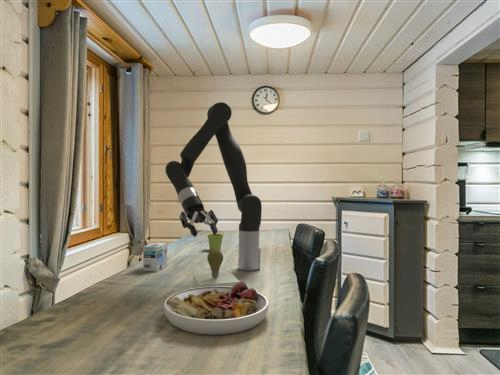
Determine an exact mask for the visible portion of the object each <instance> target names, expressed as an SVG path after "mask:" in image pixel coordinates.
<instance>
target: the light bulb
mask: <svg viewBox="0 0 500 375" xmlns="http://www.w3.org/2000/svg"><path fill="white" fill-rule="evenodd" d="M223 261H224V255H223V252H221V250H220V251H219V250H212V251H209V253H208V254H207V262H208V264H209V267H210V272H211V273H212V277H213V278H217V277H218V276H219V273H220V272H219V271H220V268H221V265H222V264H223Z"/></svg>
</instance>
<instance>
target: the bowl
mask: <svg viewBox="0 0 500 375" xmlns="http://www.w3.org/2000/svg"><path fill="white" fill-rule="evenodd" d="M248 287H249V286H248V285H247V284H246V283H245V282H244V281H240V282H238V283H237V284H235V285H234V287H229V286H208V287H198V288H193V287H192V288H188V289H184V290H180V291H178V292H175V293H173V294H171V295H169V296H168V297H167V298H166V299H165V300H164V302H163V311H164V315H165V317H166V318H167V320H168V321H169V322H170V323H171V324H172V325H173V326H175V327H176V328H178V329H180V330H183V331H186V332H189V333H193V334H197V335H207V334H208V335H210V336H211V335H212V336H213V335H214V336H217V335H220V334H221V335H229V334H230V333H231V334H235V333H236V334H237V333H240V332H243V331H247V330H249V329H252V328H254V327H255V326H257V325H258V324H260V323H261V322H262V321H263V320H264V319H265V318H266V316H267V314H268V311H269V305H270V303H269V300H268V298H267V297H266V296H265V295H264V294H262V293H260V292H257V291H256V289H255V288H252V287H251V288H248Z"/></svg>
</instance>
